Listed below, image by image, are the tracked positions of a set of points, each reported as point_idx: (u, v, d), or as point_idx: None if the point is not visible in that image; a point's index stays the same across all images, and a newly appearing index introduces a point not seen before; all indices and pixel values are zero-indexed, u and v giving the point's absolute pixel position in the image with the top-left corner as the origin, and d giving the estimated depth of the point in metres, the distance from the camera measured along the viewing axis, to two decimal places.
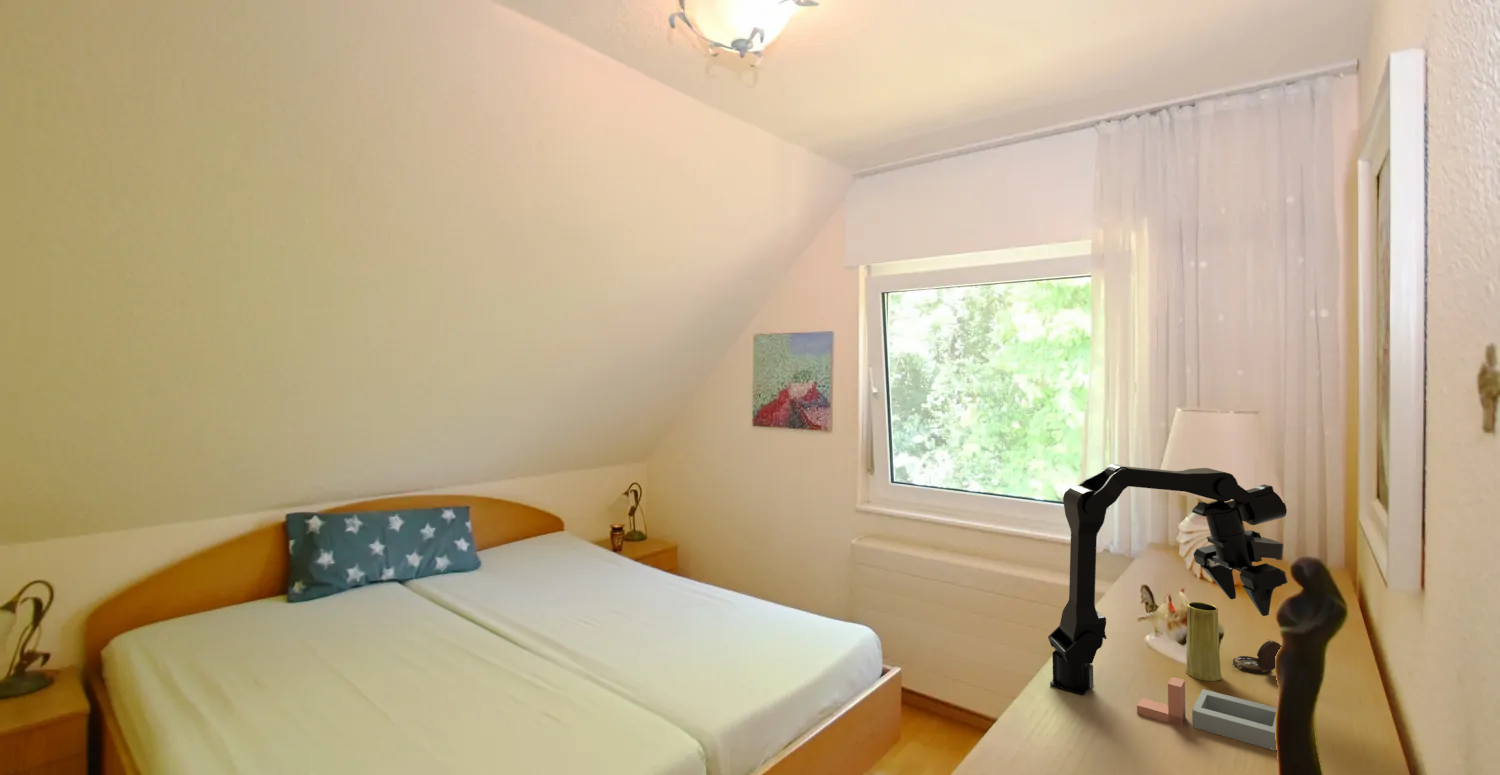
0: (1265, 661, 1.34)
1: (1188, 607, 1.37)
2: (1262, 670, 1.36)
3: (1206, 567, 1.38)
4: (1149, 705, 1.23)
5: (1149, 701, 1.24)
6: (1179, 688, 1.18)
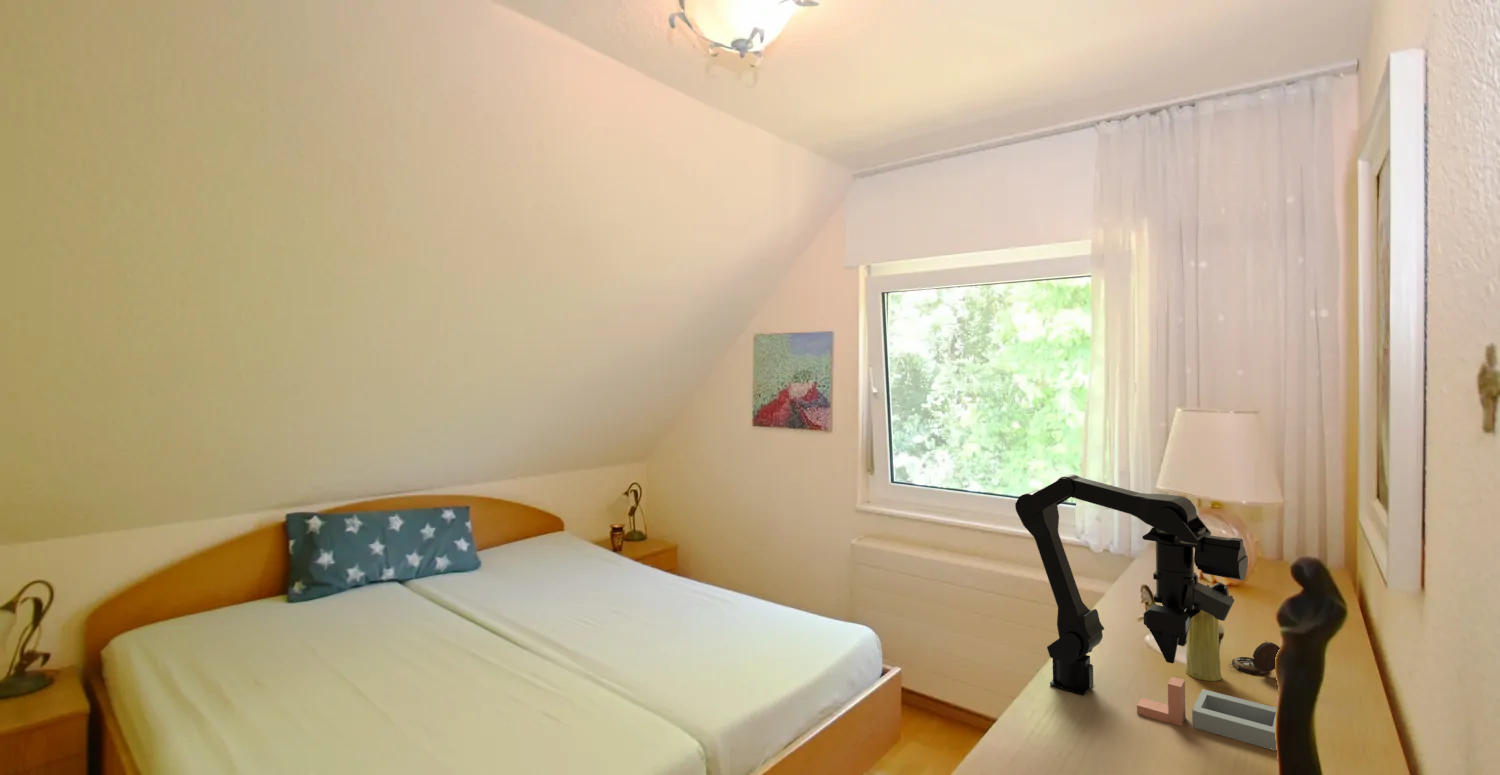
0: (1261, 662, 1.34)
1: None
2: (1259, 671, 1.36)
3: None
4: (1149, 705, 1.23)
5: (1149, 701, 1.24)
6: (1179, 688, 1.18)
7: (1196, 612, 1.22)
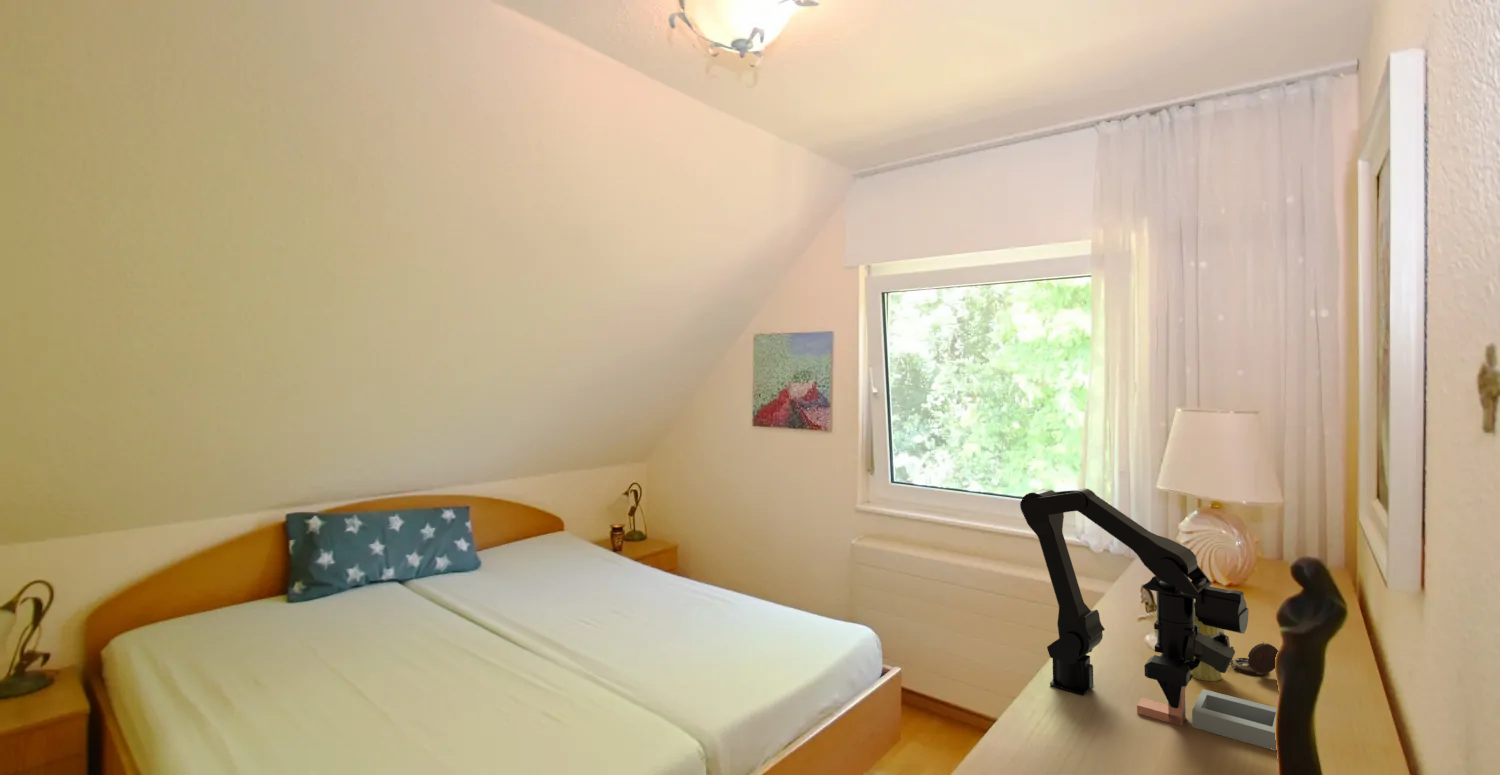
0: (1256, 663, 1.34)
1: None
2: (1256, 672, 1.35)
3: None
4: (1149, 705, 1.23)
5: (1149, 701, 1.24)
6: None
7: (1194, 666, 1.20)
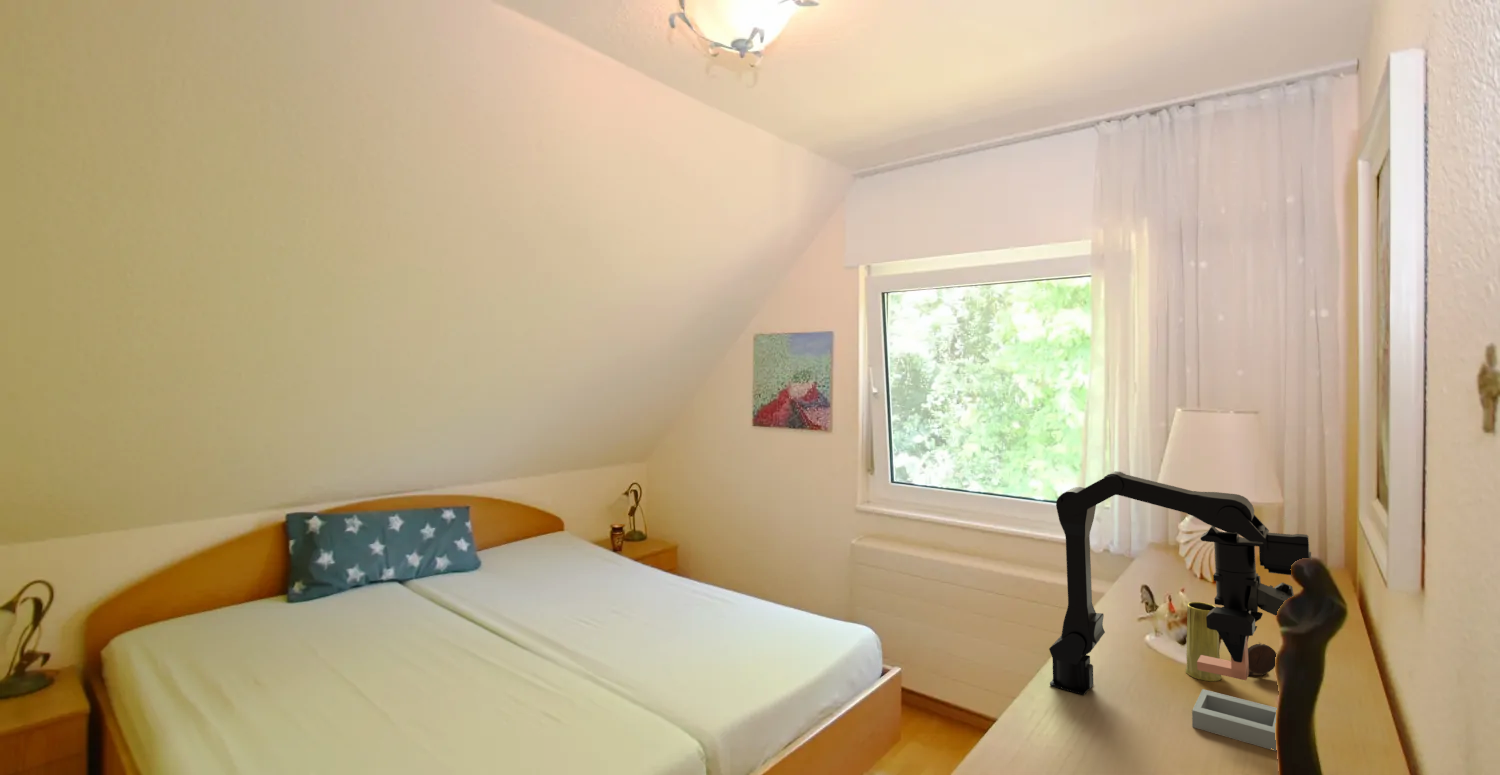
0: (1252, 663, 1.34)
1: (1188, 607, 1.37)
2: (1253, 673, 1.35)
3: None
4: (1210, 661, 1.18)
5: (1209, 657, 1.20)
6: None
7: (1257, 619, 1.16)
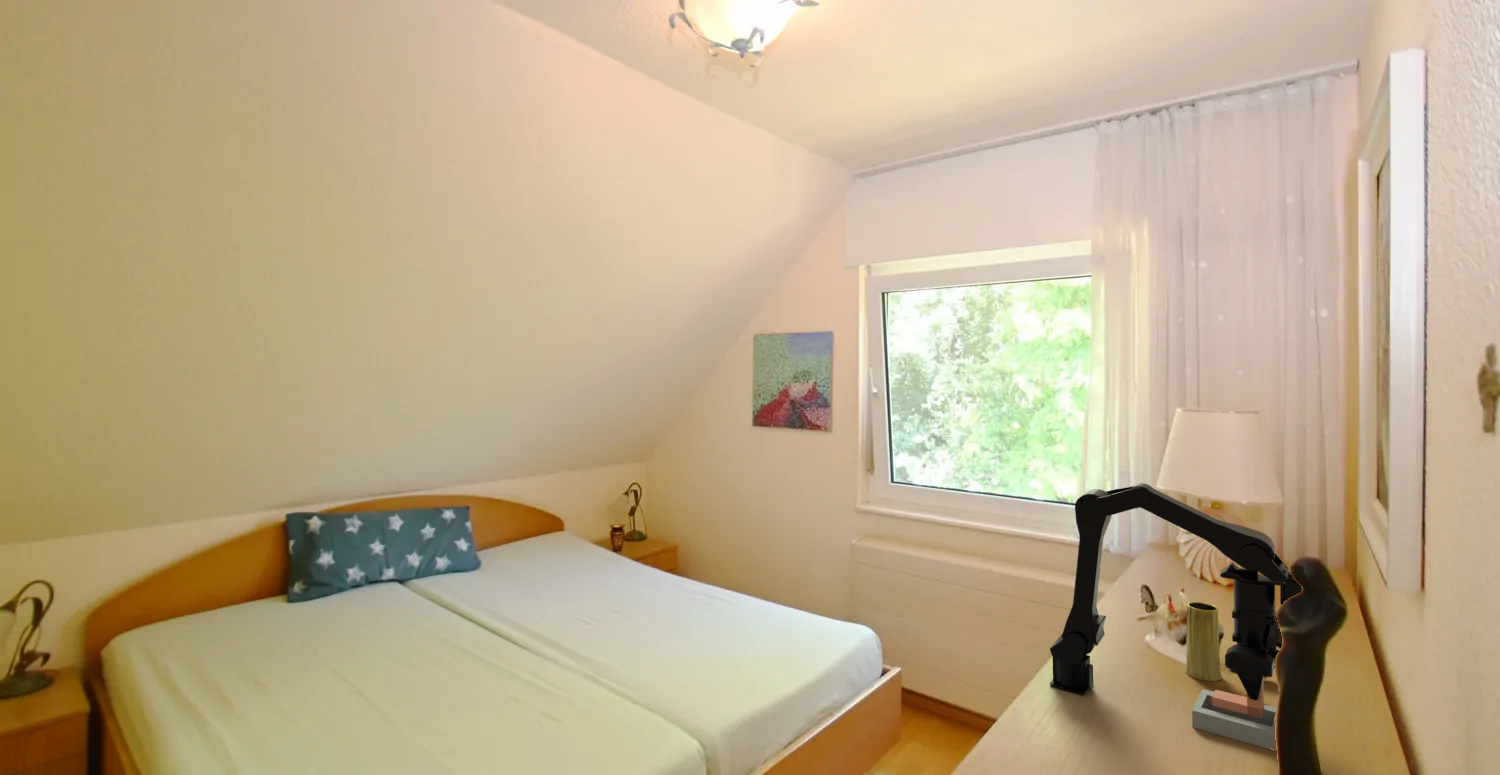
0: None
1: (1188, 607, 1.37)
2: None
3: (1238, 645, 1.19)
4: (1225, 696, 1.18)
5: (1224, 693, 1.19)
6: None
7: (1273, 656, 1.15)
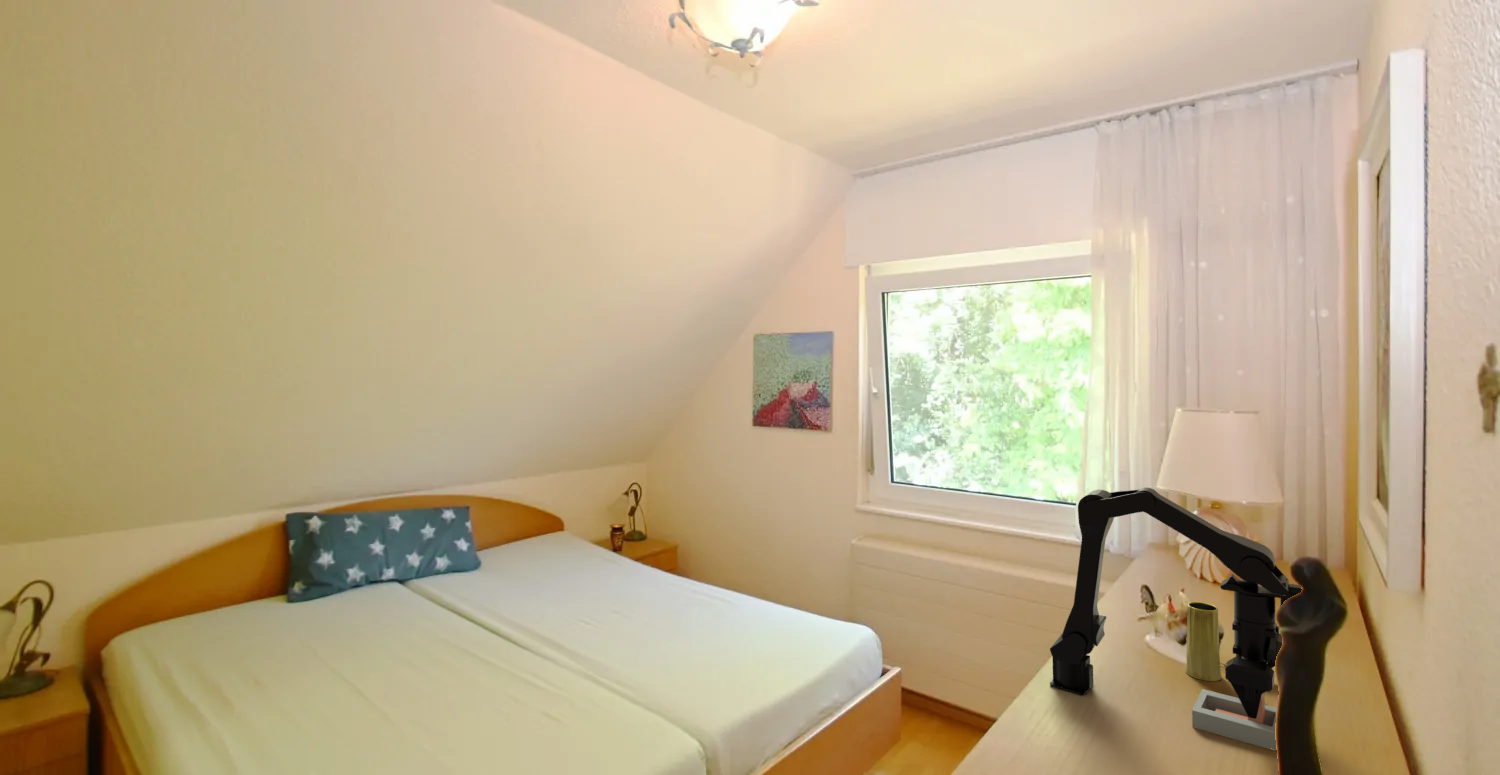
0: None
1: (1188, 607, 1.37)
2: None
3: None
4: None
5: (1225, 712, 1.19)
6: None
7: None
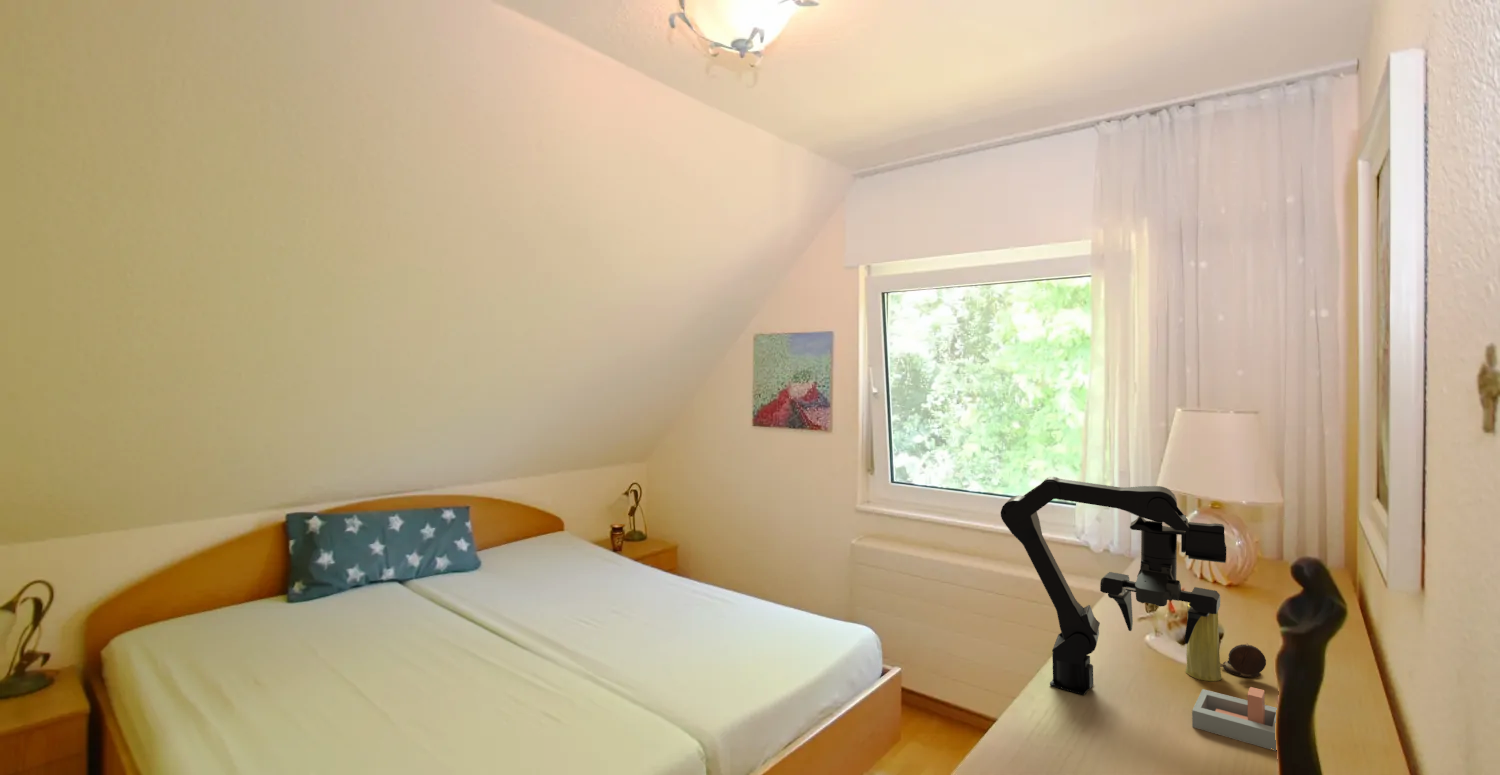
0: (1236, 662, 1.34)
1: (1188, 607, 1.37)
2: (1241, 673, 1.35)
3: None
4: None
5: (1225, 712, 1.19)
6: (1260, 699, 1.13)
7: (1188, 612, 1.20)
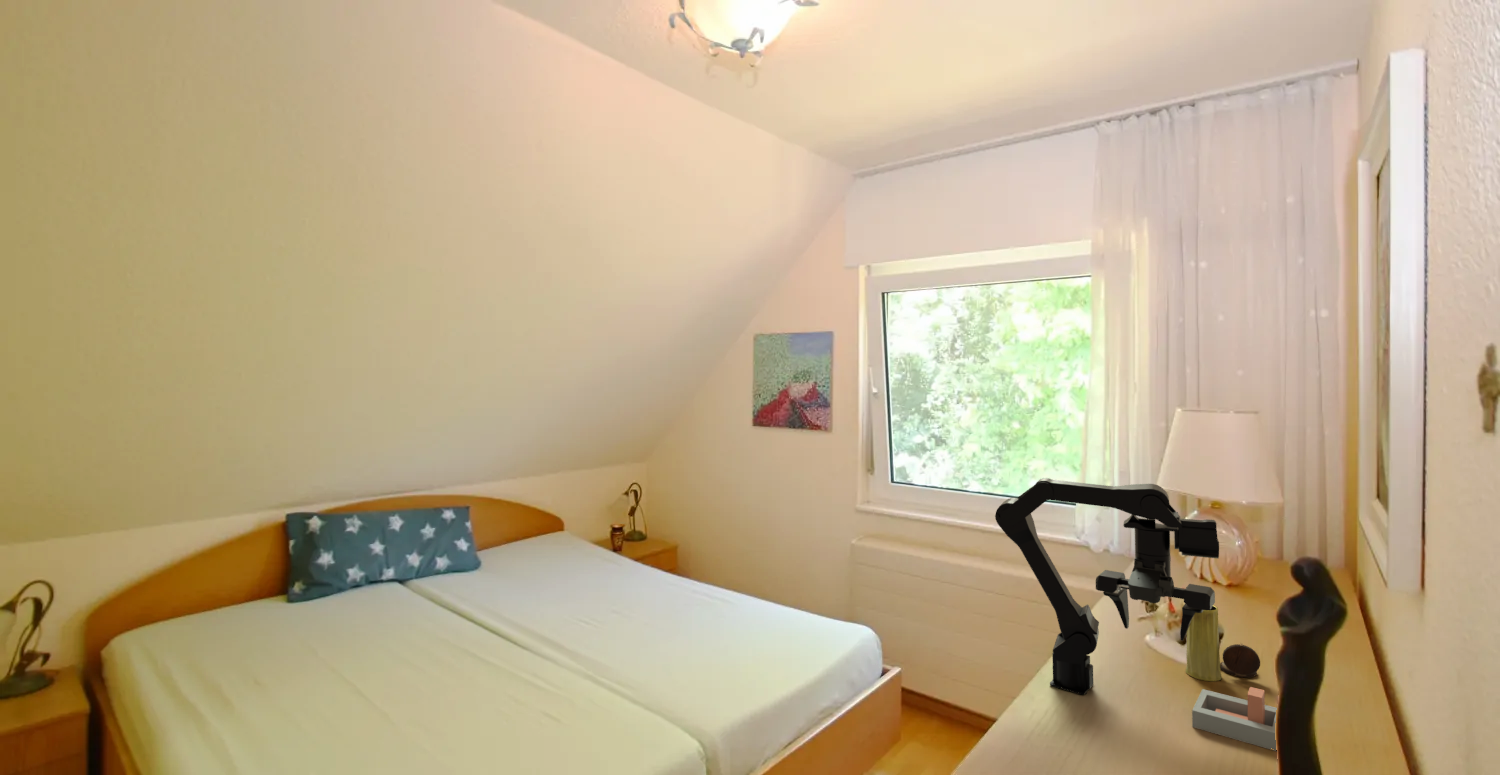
0: (1230, 662, 1.35)
1: None
2: (1236, 673, 1.35)
3: None
4: None
5: (1225, 712, 1.19)
6: (1260, 699, 1.13)
7: (1182, 609, 1.21)
